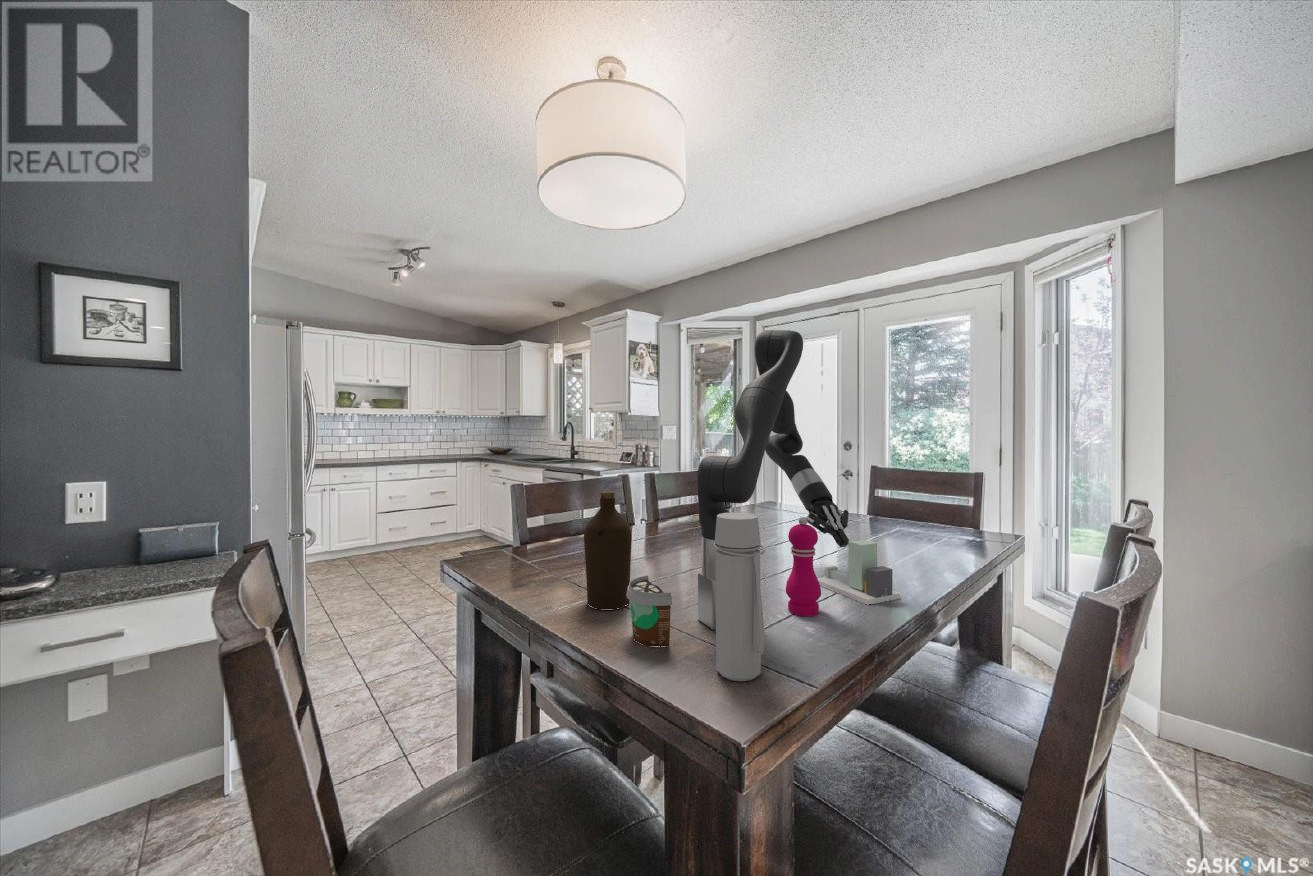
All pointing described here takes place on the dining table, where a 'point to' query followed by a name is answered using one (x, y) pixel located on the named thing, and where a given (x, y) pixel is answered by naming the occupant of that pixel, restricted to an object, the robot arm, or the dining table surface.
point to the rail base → (874, 586)
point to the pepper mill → (803, 571)
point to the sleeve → (860, 561)
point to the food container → (649, 612)
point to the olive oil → (607, 556)
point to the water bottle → (738, 596)
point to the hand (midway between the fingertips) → (845, 545)
